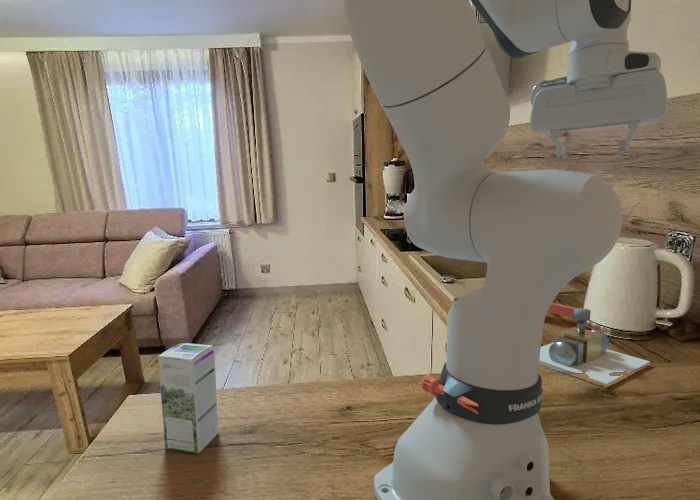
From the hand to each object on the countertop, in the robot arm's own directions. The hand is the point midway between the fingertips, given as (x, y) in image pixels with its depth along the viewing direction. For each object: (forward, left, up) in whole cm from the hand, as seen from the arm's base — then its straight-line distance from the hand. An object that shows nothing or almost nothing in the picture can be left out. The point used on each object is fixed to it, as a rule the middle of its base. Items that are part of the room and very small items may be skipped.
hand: (591, 153), depth 70 cm
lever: (+15, +12, -34) cm, 39 cm away
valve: (+15, +7, -44) cm, 47 cm away
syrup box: (-64, +23, -44) cm, 81 cm away
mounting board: (+15, +6, -44) cm, 47 cm away
